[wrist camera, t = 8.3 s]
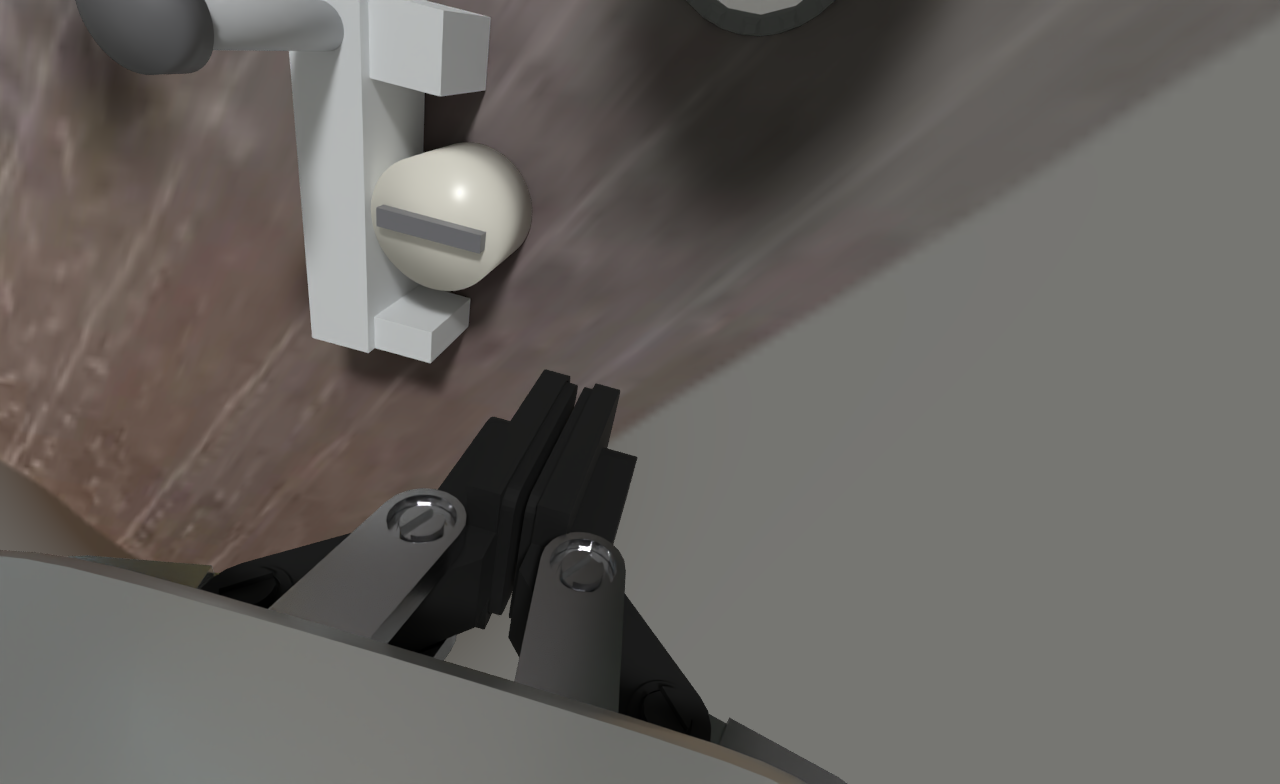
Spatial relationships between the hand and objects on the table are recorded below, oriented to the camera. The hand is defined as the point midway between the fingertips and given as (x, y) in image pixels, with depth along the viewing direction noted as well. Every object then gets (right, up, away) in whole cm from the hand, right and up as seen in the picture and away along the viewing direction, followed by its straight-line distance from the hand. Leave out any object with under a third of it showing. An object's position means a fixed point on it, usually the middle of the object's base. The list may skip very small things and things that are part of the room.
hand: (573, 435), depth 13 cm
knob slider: (-6, +9, +13) cm, 17 cm away
